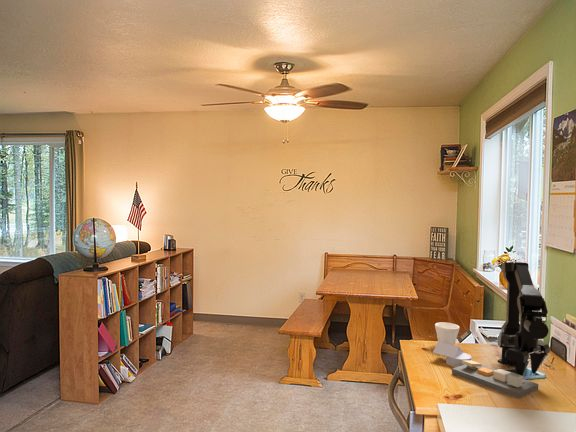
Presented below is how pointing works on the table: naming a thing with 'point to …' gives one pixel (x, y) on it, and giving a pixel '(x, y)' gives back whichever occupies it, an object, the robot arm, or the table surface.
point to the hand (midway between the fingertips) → (526, 375)
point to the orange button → (485, 371)
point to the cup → (447, 332)
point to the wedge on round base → (451, 354)
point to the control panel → (494, 381)
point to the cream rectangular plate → (471, 363)
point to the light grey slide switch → (515, 379)
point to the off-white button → (501, 375)
